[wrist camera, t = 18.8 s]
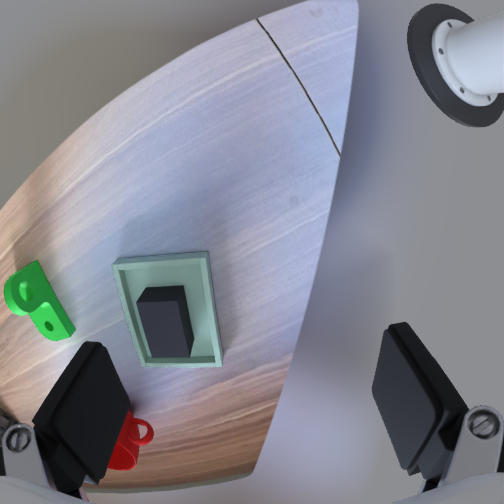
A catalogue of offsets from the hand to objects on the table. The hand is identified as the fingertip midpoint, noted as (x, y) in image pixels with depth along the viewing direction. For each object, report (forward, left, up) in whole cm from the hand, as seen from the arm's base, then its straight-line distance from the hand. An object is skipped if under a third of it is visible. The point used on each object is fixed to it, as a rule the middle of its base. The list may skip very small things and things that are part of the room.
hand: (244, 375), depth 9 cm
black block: (+10, +12, -25) cm, 30 cm away
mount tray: (+10, +12, -26) cm, 30 cm away
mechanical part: (+31, +10, -26) cm, 42 cm away
